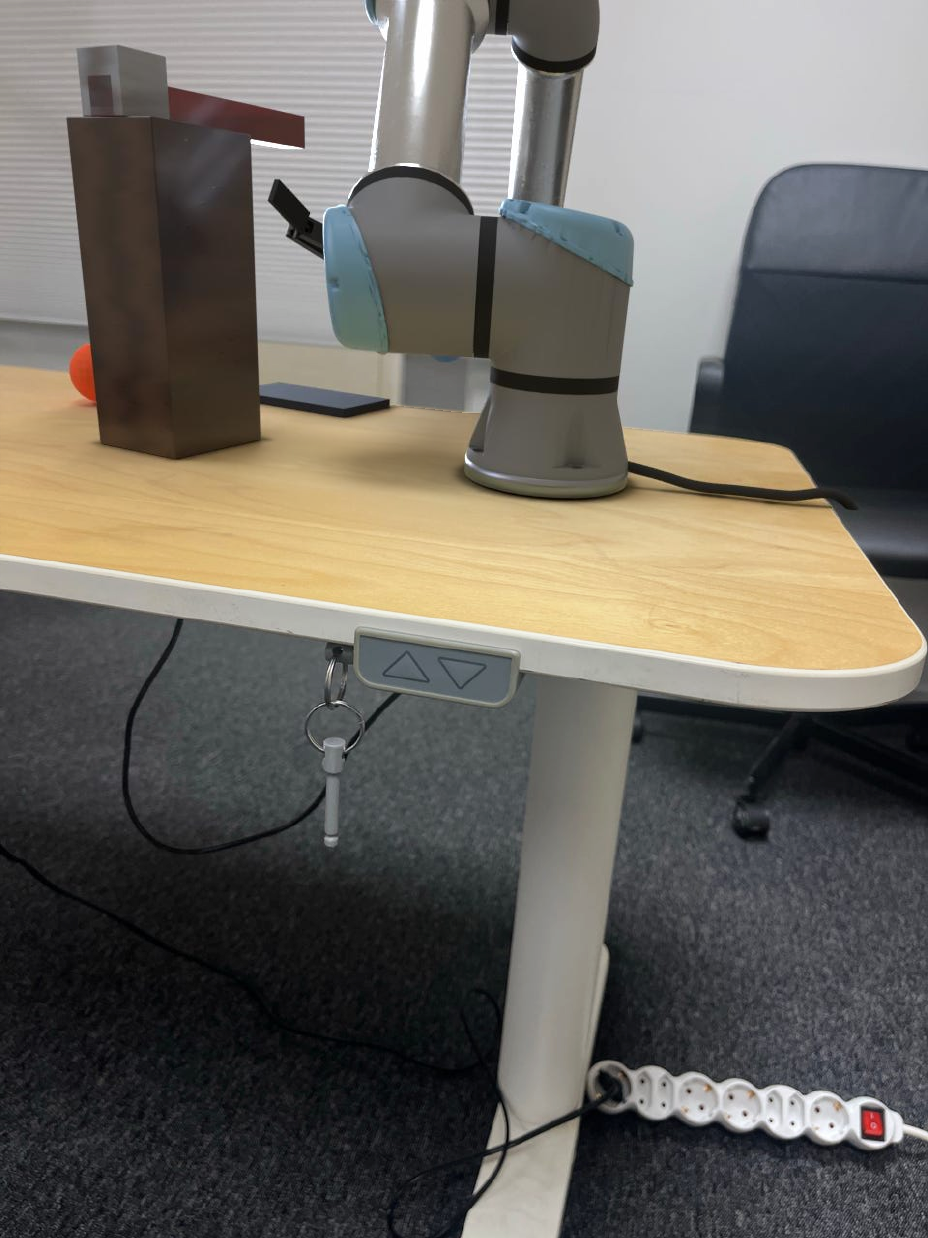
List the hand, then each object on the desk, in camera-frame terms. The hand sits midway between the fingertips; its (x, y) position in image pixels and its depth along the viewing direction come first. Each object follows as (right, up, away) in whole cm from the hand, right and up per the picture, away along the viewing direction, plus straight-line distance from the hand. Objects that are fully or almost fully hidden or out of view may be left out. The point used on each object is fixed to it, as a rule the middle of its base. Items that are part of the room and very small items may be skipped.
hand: (321, 191), depth 99 cm
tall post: (-12, -30, -9) cm, 34 cm away
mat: (-4, -20, +15) cm, 25 cm away
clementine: (-27, -22, +7) cm, 35 cm away
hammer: (-8, -2, -16) cm, 18 cm away
